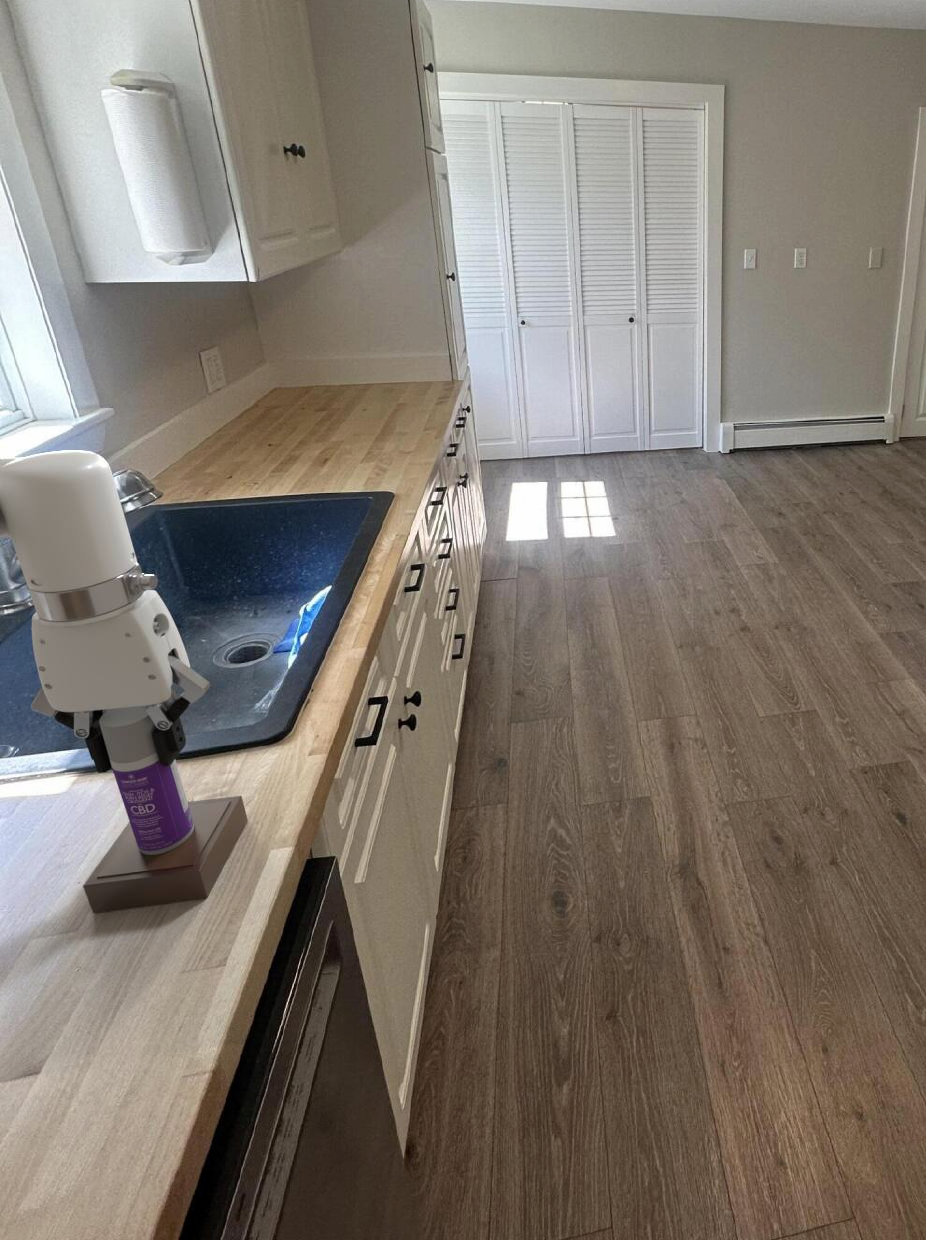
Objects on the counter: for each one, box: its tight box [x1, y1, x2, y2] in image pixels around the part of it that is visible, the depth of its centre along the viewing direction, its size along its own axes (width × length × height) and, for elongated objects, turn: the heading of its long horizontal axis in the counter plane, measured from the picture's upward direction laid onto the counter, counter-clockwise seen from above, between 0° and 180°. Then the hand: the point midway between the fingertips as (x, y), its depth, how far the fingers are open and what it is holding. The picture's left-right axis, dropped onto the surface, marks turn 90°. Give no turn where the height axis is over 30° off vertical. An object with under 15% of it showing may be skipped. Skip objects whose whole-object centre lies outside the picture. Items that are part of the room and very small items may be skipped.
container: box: [99, 706, 194, 855], centre depth 72 cm, size 5×5×15 cm
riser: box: [82, 795, 249, 914], centre depth 75 cm, size 10×10×4 cm
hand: (142, 757), depth 71 cm, fingers closed on container, 4 cm apart
